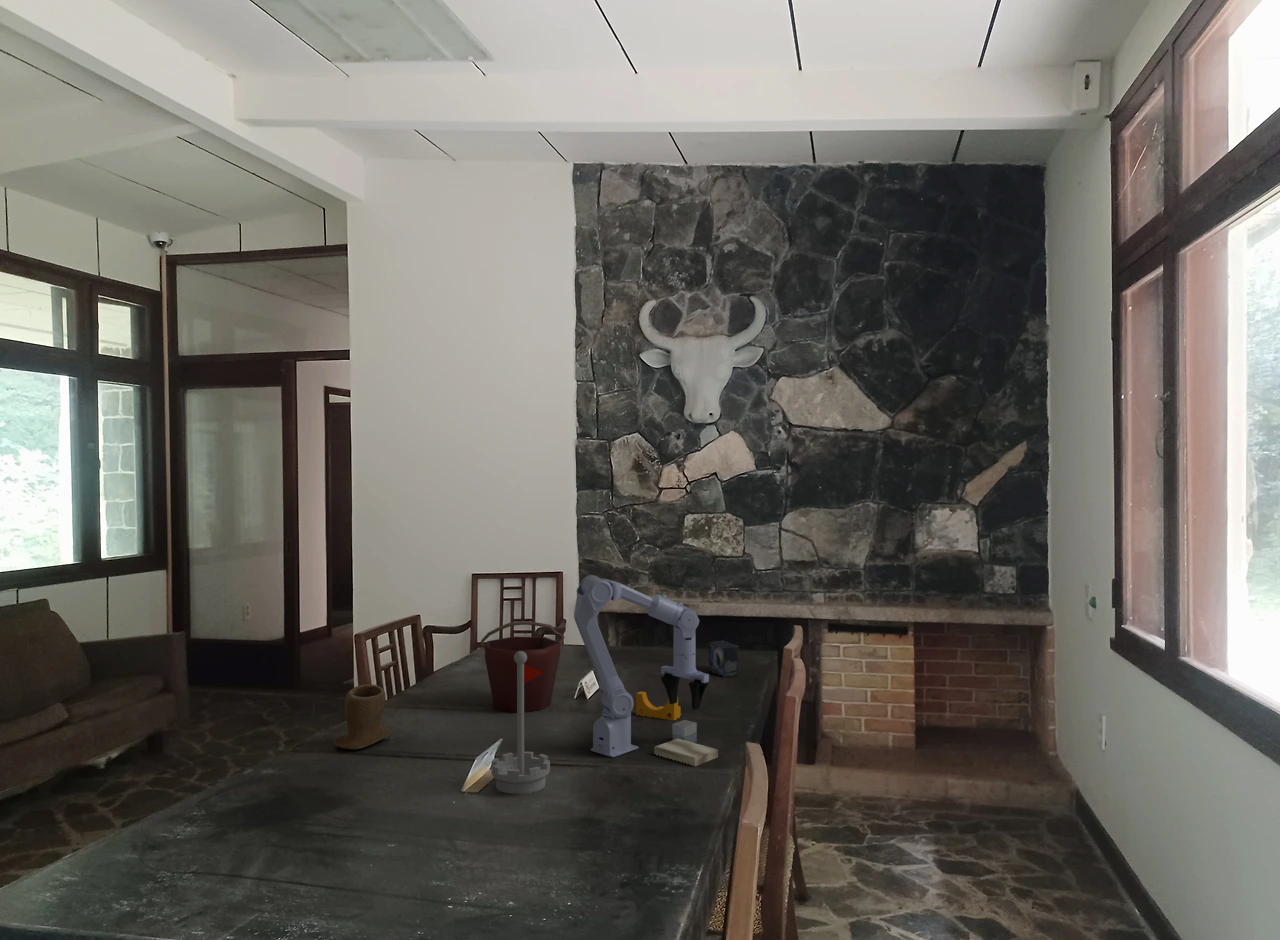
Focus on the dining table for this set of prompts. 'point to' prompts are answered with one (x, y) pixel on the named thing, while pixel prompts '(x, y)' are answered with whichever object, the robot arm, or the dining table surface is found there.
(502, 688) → the bucket
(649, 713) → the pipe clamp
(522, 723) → the flag stand
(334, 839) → the dining table surface
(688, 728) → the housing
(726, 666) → the small box
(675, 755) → the cream flat block
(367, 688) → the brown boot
